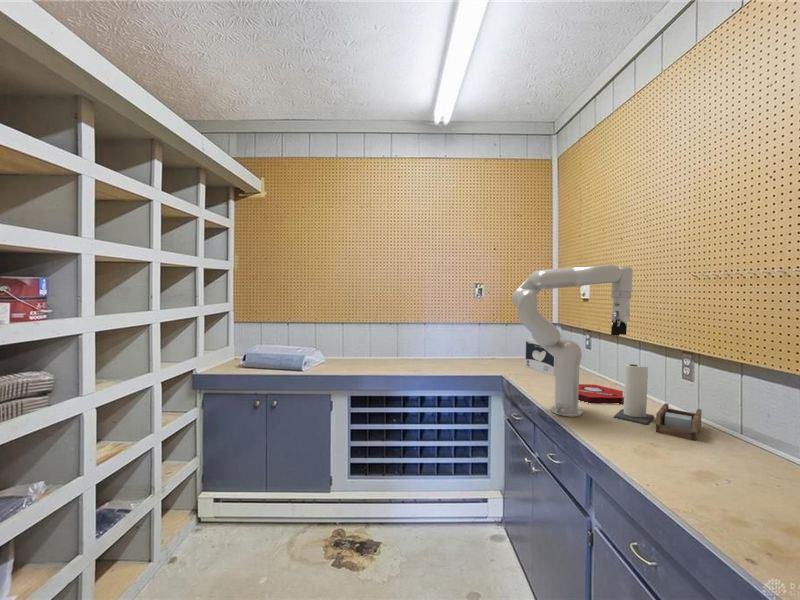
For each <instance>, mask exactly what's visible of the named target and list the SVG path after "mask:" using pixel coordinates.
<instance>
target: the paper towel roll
mask: <svg viewBox="0 0 800 600" xmlns="http://www.w3.org/2000/svg"><path fill="white" fill-rule="evenodd" d="M624 366H625V367H624V392H623V409H624V414H625V415H627V416H631V417H646V414H647V407H648V405H647V401H648V376H649V375H648V373H649V367H648V366H642V365H638V364H634V363H633V364H629V363H628V364H626V363H625V365H624Z"/></svg>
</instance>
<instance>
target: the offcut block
mask: <svg viewBox="0 0 800 600" xmlns="http://www.w3.org/2000/svg"><path fill="white" fill-rule="evenodd" d="M691 420H692V416H687V415H681V414H675V413H669V412H666V414H665V425H666V426H671V427H675V428H680V429H685V430H690V431H691V430H692V426H691Z"/></svg>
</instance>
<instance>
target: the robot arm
mask: <svg viewBox="0 0 800 600" xmlns="http://www.w3.org/2000/svg"><path fill="white" fill-rule="evenodd" d="M633 271H634V270H633V268H632V267H631V266H630V267H629V266H618V265H615V264H605V265H595V266H573V267H572V266H571V267H562V268H561V267H560V268H559V267H558V268H551V269H548V268H547V269H541V270H540V269H539V270H535V271H533V272H532V273H531V274H529V275H528V277H527V278H526V279H525V280H524V281H523V282H522V283H521V284H520V285H519V286H518V287H517V288H516V290H514V292H513V293H512V296H511V301H512V304H513V305H514V306H515V307H516V308H517V316H518V318H519V322H521V324H522V326H524V328H526V329H527V330H528V331H529V332H530V333H531V336H532V338H533V339H534V340H535V341H536V342H537V343H538V344H539V345H540V346H542V347H543V348H544V349H545V350H546V351H547V352H549V353H550V354H551V355H552V356H554V357H555V358H557V359H558V360H557V364H556V370H555V376H554V378H555V379H554V405H553V406H551V407H550V411H551V413H553V414H555V415H559V416H561V417H562V416H564V417H571V418H572V417H573V418H575V417H580V416H583V410H581V409H580V408H579V401H578V398H579V384H580V368H581V366H580V365H581V362H582V361H581V360H582V354H583V352H582V349H581V347H580V345H579V344H578V343H577V342H575V341H573V340H570V339H566V338H564V337H563V336H562V335H561V332H560V330H559V329H558V328H557V326H555V325H554V324H552V322H551V321H549V320H548V319H547V318H546V317H544V316H543V314H541V313H540V311H539V309H538V301H539V300H538V294H539V293H540V292H541V291H542V290H551V289H563V288H575V287H577V288H578V287H584V286H590V285H600V284H611V293H610V295H611V296H610V299H612V306H611V317H610V318H611V328H610V329H611V330H610V335H611V336H617V337H619V336H620V335H623V336H625V335H627V323H628V322H629V321H630V317H631V315H630V313H631V312H630V311H631V309H630V308H631V307H630V305H631V302H630V300H632V287H633V275H634V272H633Z"/></svg>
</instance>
